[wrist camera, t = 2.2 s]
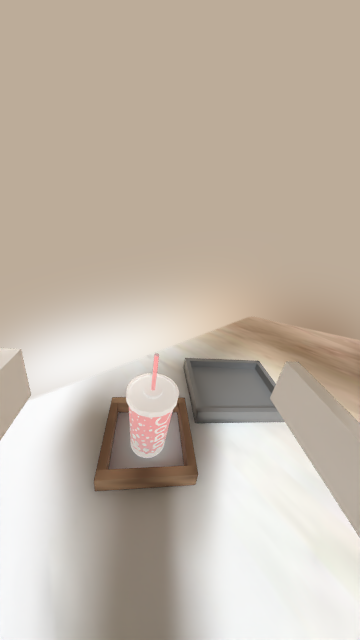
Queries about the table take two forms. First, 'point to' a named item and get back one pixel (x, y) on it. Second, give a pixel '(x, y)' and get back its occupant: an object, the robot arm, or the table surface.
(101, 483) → the holder
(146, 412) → the beverage cup
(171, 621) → the table surface
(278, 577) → the table surface
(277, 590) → the table surface
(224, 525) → the table surface
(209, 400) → the tray
